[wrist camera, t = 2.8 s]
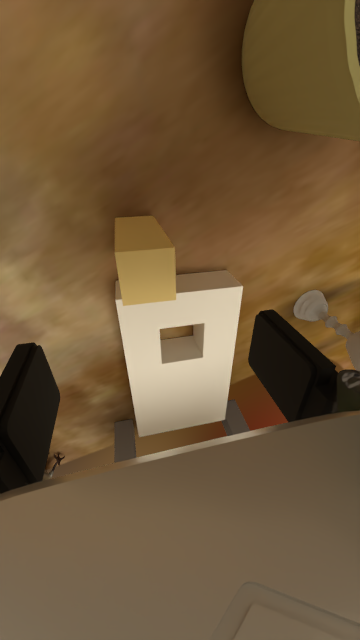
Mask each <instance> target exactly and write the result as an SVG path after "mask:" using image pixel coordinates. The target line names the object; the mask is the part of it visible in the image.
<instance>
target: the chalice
mask: <svg viewBox="0 0 360 640" xmlns="http://www.w3.org/2000/svg"><path fill="white" fill-rule="evenodd" d="M327 311H328V303H327V302H326V299H325V298H324V295H323V294H322V292H321V291H318V290H312V291H308V292H306V293H305V294H303V295H302V296H301V297H300V298H299V299H298V300H297V302H296V303H295V306H294V315H295V316H296V317H297V318H299V319H303V320H308V321H317V320H320V319H322V320H324V322H325V323H326V324H325V325H326V327H332V328H334V329H335V331H336V334H337V335H342V336H344V337H346V338H347V339H348V340H347V342H346V348H347V351H348V354H349V356H350V359H351V361H352V364H353V366H354V367H355V369H356V371H360V331H359V332H356V333H352V332H350V331H349V329H348V328H347V325H345V324H340V323H338V321H337V317H335V316H333V317H331V316H329V315H327Z"/></svg>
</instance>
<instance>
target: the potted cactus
mask: <svg viewBox="0 0 360 640" xmlns="http://www.w3.org/2000/svg"><path fill="white" fill-rule="evenodd" d="M242 72H243V80H244V85H245V89H246V92H247V95H248V98H249V100H250V102H251V104H252V106H253V108H254V110H255V111H256V113H257V114H258V115H259V116H260V118H261V119H263V120H264V121H265V122H266V123H268V124H269V125H270V126H273V127H275V128H278V129H280V130H286V131H293V132H300V133H307V134H314V135H321V136H328V137H334V138H341V139H348V140H355V141H360V0H254V2H253V4H252V6H251V9H250V12H249V16H248V19H247V23H246V27H245V31H244V38H243V45H242Z"/></svg>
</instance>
